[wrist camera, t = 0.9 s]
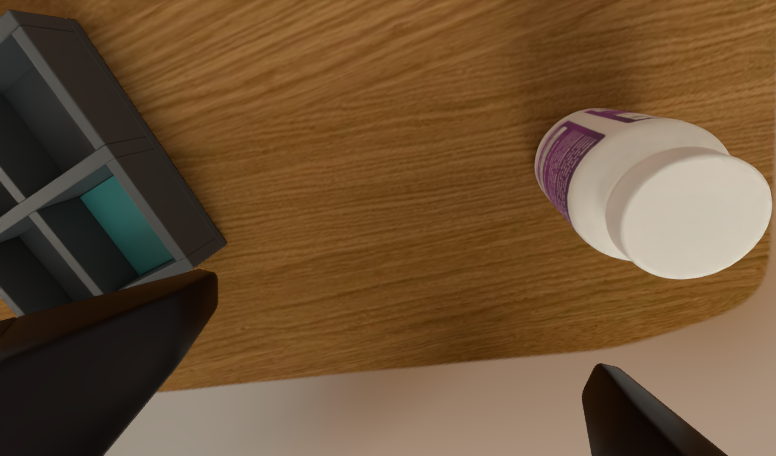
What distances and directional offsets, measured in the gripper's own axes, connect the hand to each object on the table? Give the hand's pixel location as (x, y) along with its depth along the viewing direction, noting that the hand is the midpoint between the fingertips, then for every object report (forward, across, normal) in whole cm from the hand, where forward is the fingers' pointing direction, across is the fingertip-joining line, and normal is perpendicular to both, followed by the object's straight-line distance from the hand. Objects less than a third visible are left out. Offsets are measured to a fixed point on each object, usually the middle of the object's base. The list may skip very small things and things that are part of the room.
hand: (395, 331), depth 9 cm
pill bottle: (+14, -8, -3) cm, 17 cm away
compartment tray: (+14, +23, +6) cm, 28 cm away
